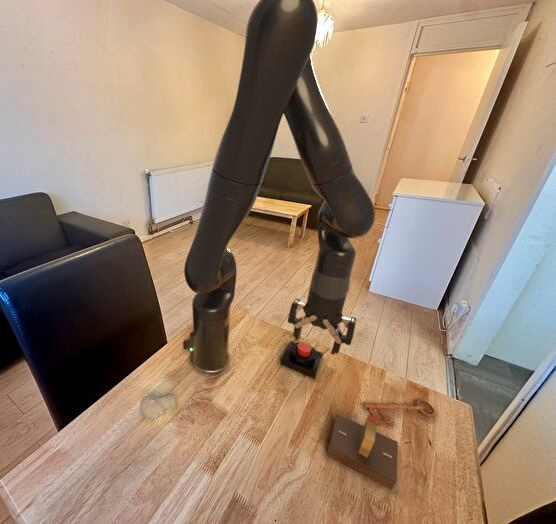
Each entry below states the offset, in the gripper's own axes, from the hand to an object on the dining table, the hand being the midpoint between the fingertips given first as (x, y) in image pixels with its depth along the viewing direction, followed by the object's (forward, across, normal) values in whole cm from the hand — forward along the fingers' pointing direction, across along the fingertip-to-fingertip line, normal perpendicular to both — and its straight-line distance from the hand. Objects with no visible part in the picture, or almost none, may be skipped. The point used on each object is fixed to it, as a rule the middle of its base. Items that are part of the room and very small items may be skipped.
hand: (315, 345), depth 69 cm
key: (+10, +20, +1) cm, 23 cm away
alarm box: (+10, -3, +3) cm, 11 cm away
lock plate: (+10, +14, -14) cm, 22 cm away
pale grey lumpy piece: (+10, -25, -29) cm, 40 cm away
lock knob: (+7, +14, -14) cm, 21 cm away
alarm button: (+6, -3, +3) cm, 8 cm away
